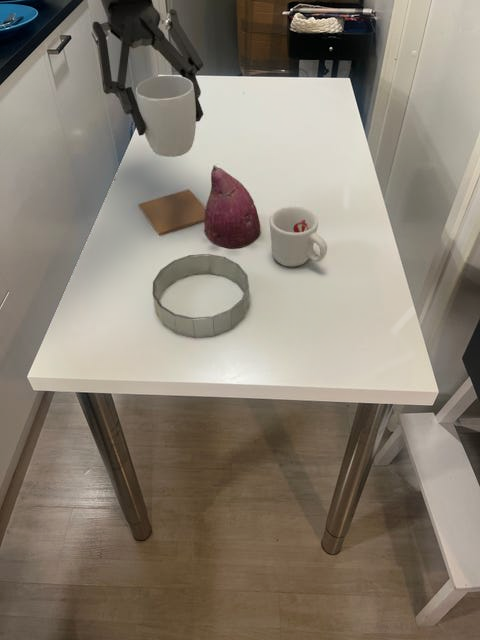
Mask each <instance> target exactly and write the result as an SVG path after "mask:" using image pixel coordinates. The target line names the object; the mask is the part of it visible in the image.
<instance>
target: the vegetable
mask: <svg viewBox="0 0 480 640" xmlns="http://www.w3.org/2000/svg"><path fill="white" fill-rule="evenodd" d="M210 180H211V181H210V182H211V187H210V192H209V196H208V198H207V201H206V205H205V217H204V222H203V224H204V234H205V236H206V237H207V239H208V240H209V241H210V242H211V243H212V244H214V245H217V246H220V247H223V248H226V249H236V248H242V247H245V246H249V245H251V244H252V243H254V242H255V241H256V240H257V239H258V237H259V236H260V234H261V221H260V217H259V213H258V210H257V207H256V204H255V202H254V199H253V196H252V195H251V194H250V192H249V191H248V190H247V188H246V187H245V185H243V183H242V182H241V181H239V180H238V179H236V178H235V177H234V176H233V175H231V174H229V173H228V172H226V170H224V169H223V168H221V167H218V166H216V164H213V166H212V169H211V173H210Z"/></svg>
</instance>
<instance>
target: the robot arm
mask: <svg viewBox="0 0 480 640" xmlns="http://www.w3.org/2000/svg"><path fill="white" fill-rule="evenodd" d="M100 2H101V5H102V7H103V10H104V13H105V15H106V18H107V21H106V22H102V23H100V22H99V21H93V22H92V28H91V36H92V38H93V40H94V42H95V44H96V46H97V53H98V61H99V67H100V76H101V77H100V78H101V84H102V91H103V93H104V94H106V95H110V94H114V95H115V97H117V98H118V100H119V103H120V105H121V108H122V110H123V113H124V114H125V115H131V117H132V120H133V123H134V126H135V128H136V131H137V134H138V136H139V137H140V136H145V130H146V126H145V124H144V121H143V118H142V115H141V113H140V111H139V108H138V104H137V99H136V95H135V93H134V91H133V88H132V86H127V87H126V84H127V75H128V67H129V59H130V58H129V57H130V50H131V49H137V48H139V47H148V46H151V47H152V48H153V49H154V51H157V52H159V53H160V55H161V56H162V57H163V58H164V59H165V60H166V61H167V62H168V63H169V64H170V66H171V67H172V68H173V69H174V70H175V71H176V72H177V73H178V74H179V76H180V77H185V78H187V79H189V80H191V82H192V83H193V87H194V93H195V104H196V123H197V122H200V121H201V119H202V118H203V116H204V111H203V109H202V108H203V107H202V105H201V103H200V100H199V98H200V96H201V94H202V90H201V88H200V85H199V82H198V79H197V76H199V75H200V73H201V72H202V69H203V67H204V62H203V61H202V58H201V57H200V55H199V54H198V52H197V51H196V49H195V47H194V46H193V44H192V42H191V40H190V39H189V37H188V36H187V34H186V32H185V31H184V29H183V27H182V25H181V24H180V20H179V16H178V12H177V10H175V9H174V8H171V9H170V10H169V11H168V12H163V13H162V12H161V13H160V12H159V11H158V9H156V7H155V6H154V2H153V0H100ZM160 24H162V25H163V26H164V28H165V30H166V31H168V33H169V35H170V37H171V39H172V41H173V42H174V44H175V45H176V47H175V46H174V45H173V44H172V42H170V40H169V39H168V38H167V37H166V35H165V33H164V32H163V30H162V29H161V28H160V27H159V25H160ZM109 33H111V35H113V36H114V37H116V39H118V40H119V41H120V42H121V45H120V53H119V63H118V71H117V78H116V81H115V80H113V77H112V70H111V62H110V54H109V47H108V39H109ZM130 48H131V49H130Z"/></svg>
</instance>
